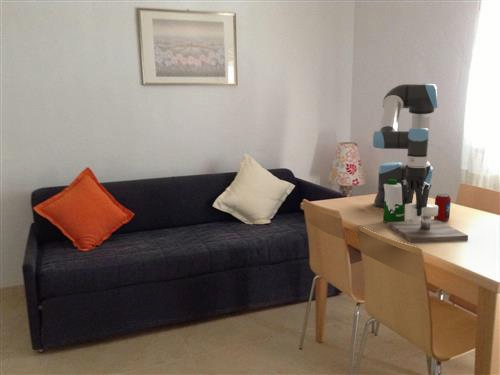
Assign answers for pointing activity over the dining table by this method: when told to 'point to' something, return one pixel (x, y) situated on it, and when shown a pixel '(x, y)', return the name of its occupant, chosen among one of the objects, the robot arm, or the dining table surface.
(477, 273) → the dining table surface
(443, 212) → the beverage can
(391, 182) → the milk carton
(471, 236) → the dining table surface
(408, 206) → the spoon
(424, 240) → the base plate
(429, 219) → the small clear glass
